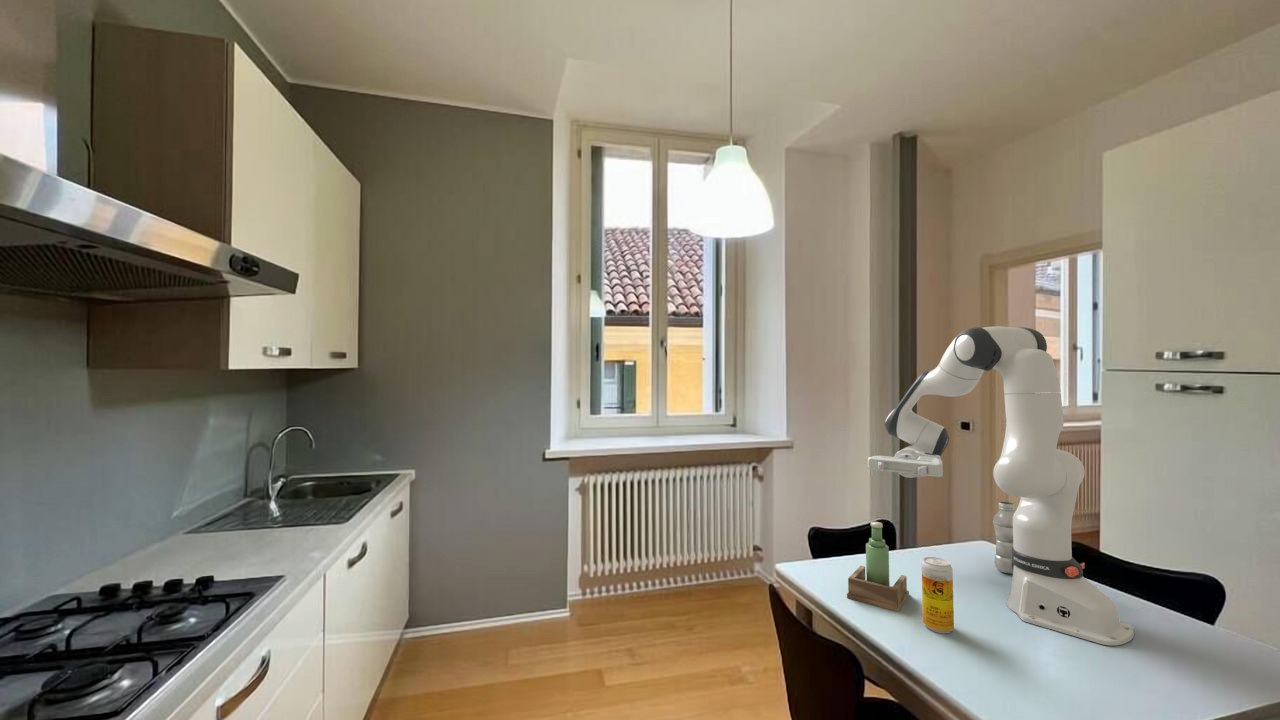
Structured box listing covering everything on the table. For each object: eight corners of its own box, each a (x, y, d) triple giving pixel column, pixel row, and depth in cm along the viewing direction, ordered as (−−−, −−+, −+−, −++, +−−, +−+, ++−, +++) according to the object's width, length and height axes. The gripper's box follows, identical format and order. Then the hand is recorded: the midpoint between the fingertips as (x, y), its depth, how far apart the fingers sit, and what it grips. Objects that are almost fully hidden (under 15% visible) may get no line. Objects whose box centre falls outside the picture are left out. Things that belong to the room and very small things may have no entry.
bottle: (894, 593, 129) (892, 524, 129) (881, 598, 126) (879, 527, 126) (875, 586, 133) (873, 519, 134) (862, 590, 130) (860, 522, 131)
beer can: (925, 631, 111) (924, 564, 112) (920, 619, 117) (919, 555, 118) (957, 636, 109) (955, 567, 110) (950, 623, 115) (948, 558, 116)
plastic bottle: (1028, 577, 141) (1026, 506, 141) (1004, 577, 141) (1002, 506, 141) (1012, 568, 147) (1010, 500, 148) (989, 568, 147) (987, 500, 148)
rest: (860, 582, 138) (860, 564, 138) (908, 594, 130) (908, 575, 130) (847, 597, 129) (846, 578, 129) (897, 611, 121) (897, 590, 121)
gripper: (873, 449, 162) (860, 455, 152) (946, 455, 149) (938, 462, 139) (874, 469, 162) (861, 475, 152) (946, 477, 149) (938, 485, 138)
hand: (898, 469), depth 145 cm, fingers open, 8 cm apart
